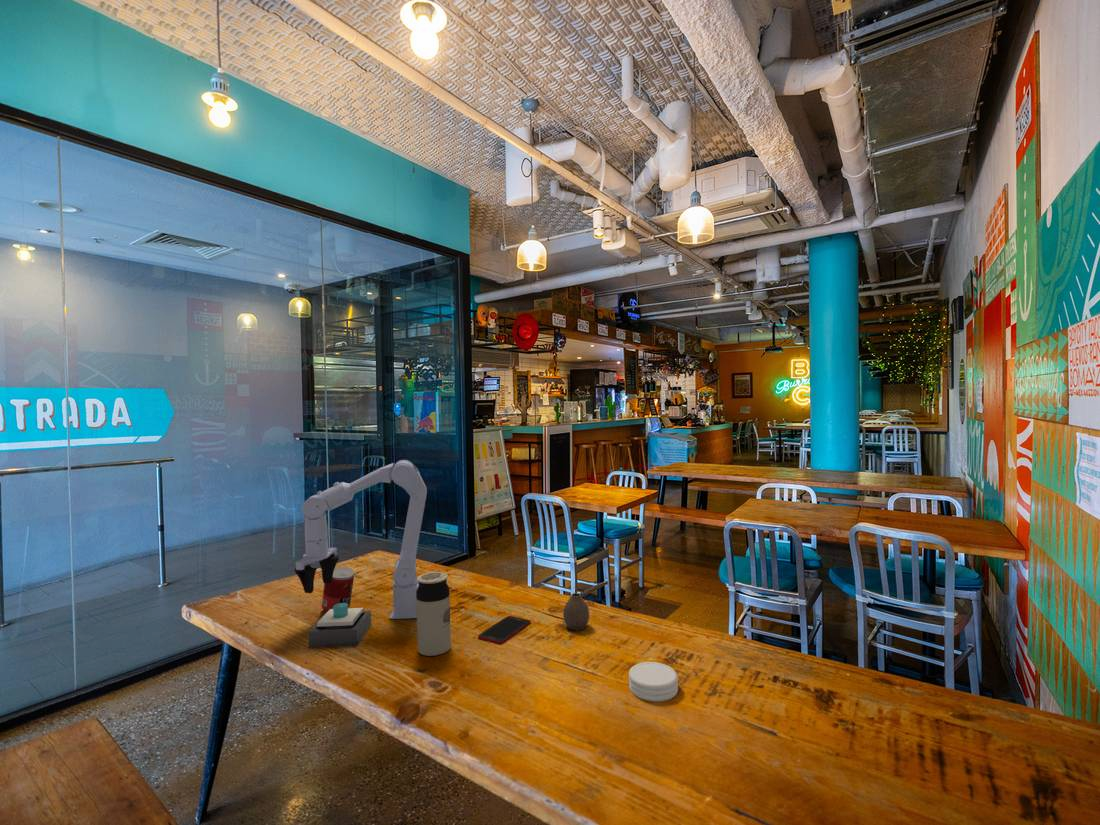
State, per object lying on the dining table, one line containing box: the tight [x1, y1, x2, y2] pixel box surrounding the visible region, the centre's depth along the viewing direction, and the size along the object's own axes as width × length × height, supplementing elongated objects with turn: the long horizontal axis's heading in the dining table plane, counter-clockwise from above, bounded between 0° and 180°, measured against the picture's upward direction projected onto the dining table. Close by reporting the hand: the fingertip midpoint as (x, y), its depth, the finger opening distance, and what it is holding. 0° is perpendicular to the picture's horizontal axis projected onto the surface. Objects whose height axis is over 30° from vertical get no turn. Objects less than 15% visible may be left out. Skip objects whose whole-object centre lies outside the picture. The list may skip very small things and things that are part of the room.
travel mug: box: [416, 571, 452, 657], centre depth 128 cm, size 8×8×18 cm
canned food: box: [321, 566, 355, 613], centre depth 154 cm, size 8×8×11 cm
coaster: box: [628, 661, 679, 702], centre depth 108 cm, size 10×10×4 cm
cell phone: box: [477, 615, 532, 645], centre depth 138 cm, size 8×15×1 cm, turn 150°
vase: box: [562, 592, 590, 631], centre depth 139 cm, size 7×7×9 cm
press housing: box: [307, 610, 372, 648], centre depth 137 cm, size 12×12×4 cm
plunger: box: [316, 603, 364, 627], centre depth 137 cm, size 9×9×4 cm
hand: (318, 587), depth 145 cm, fingers open, 7 cm apart
